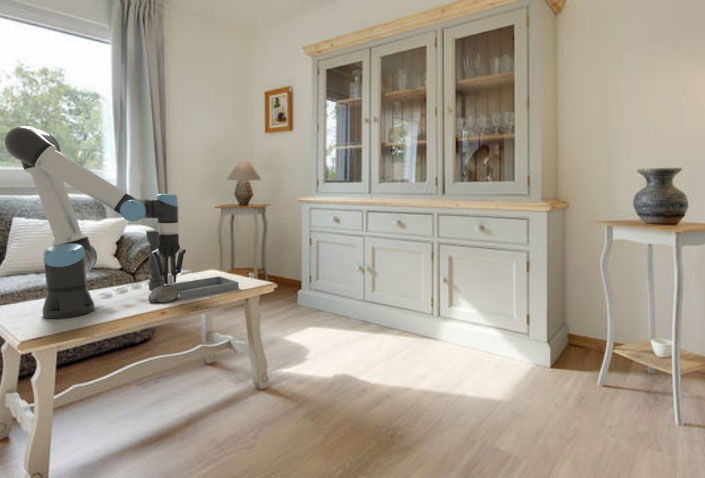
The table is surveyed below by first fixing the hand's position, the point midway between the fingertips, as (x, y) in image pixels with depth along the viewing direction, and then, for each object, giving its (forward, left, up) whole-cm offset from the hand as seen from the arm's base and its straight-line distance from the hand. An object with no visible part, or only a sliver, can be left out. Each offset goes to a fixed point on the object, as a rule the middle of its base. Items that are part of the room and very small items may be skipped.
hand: (170, 291), depth 173 cm
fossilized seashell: (-4, -5, -2) cm, 7 cm away
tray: (+13, -1, -2) cm, 13 cm away
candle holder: (0, +16, -2) cm, 16 cm away
